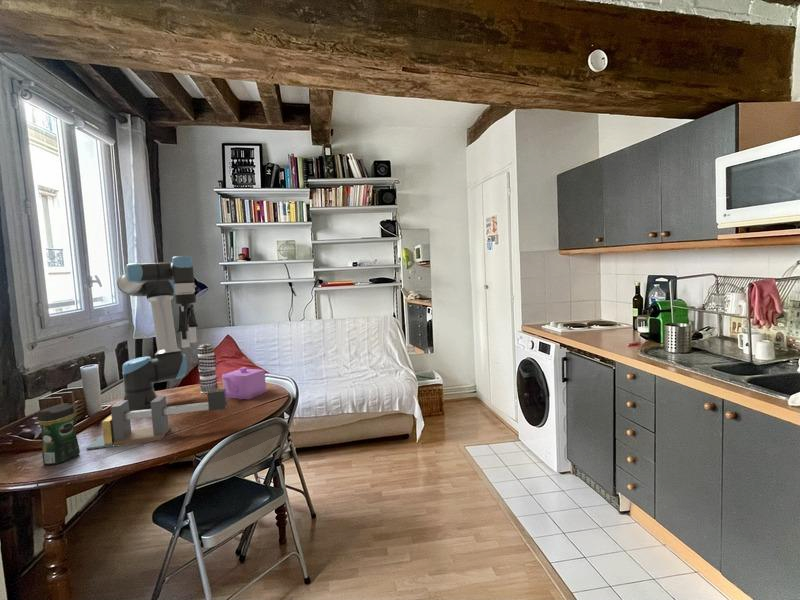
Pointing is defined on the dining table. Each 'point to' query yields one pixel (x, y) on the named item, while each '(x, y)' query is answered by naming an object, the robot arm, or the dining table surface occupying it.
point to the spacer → (108, 430)
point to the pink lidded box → (244, 383)
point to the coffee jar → (58, 433)
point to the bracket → (129, 436)
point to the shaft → (186, 406)
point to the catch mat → (99, 443)
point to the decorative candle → (207, 368)
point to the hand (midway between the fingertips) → (189, 344)
